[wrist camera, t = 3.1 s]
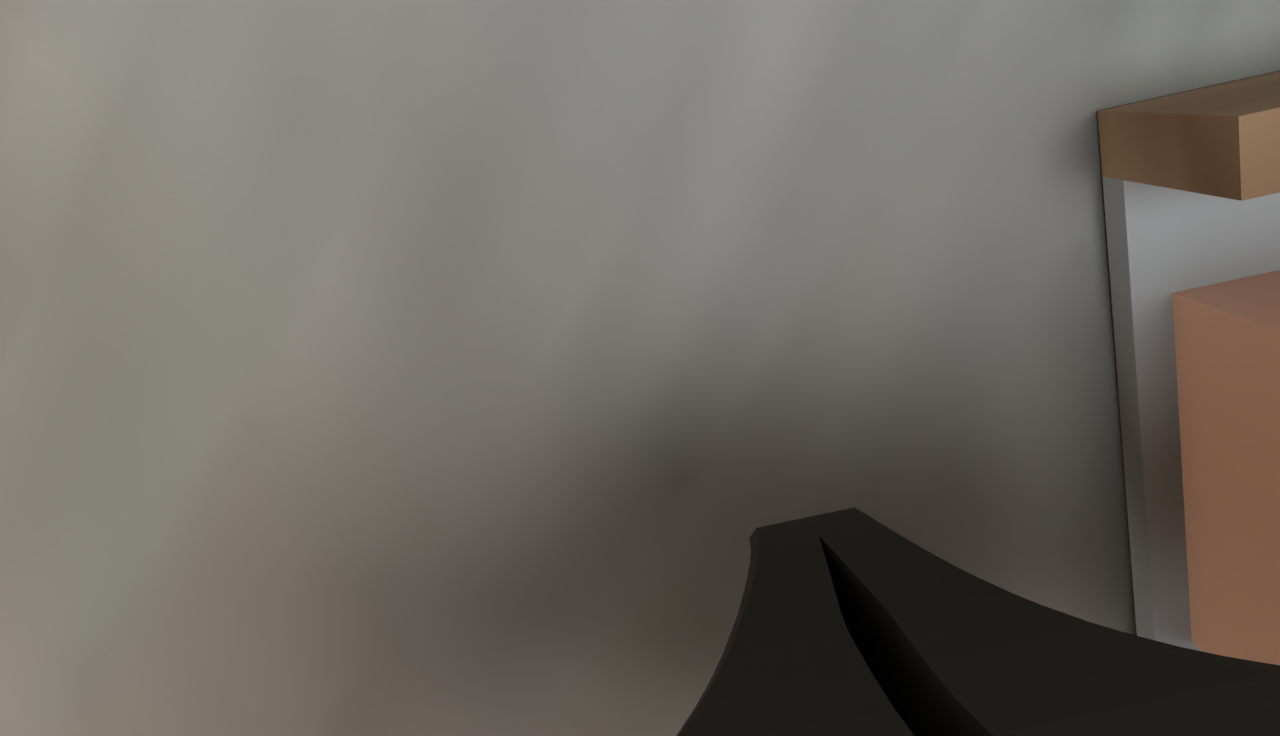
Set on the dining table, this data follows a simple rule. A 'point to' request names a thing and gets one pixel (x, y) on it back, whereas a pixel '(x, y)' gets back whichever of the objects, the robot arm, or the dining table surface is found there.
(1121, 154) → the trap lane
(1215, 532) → the block
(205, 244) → the dining table surface
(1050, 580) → the dining table surface
